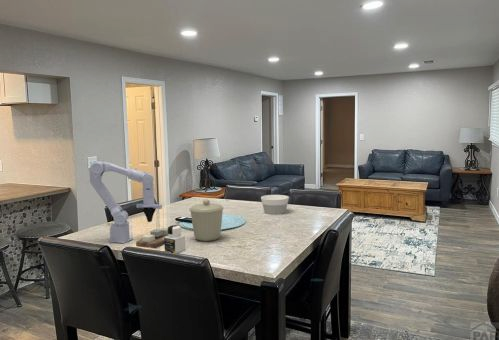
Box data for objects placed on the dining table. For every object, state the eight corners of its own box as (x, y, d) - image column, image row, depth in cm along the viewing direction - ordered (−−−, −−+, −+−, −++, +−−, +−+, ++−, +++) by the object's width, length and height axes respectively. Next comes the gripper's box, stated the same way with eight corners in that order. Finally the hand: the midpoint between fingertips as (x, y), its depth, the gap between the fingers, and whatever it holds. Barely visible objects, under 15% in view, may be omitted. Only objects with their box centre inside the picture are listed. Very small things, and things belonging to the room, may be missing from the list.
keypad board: (136, 245, 195) (136, 241, 195) (162, 234, 215) (162, 230, 215) (156, 248, 190) (155, 243, 190) (180, 236, 211) (180, 232, 210)
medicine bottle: (164, 251, 185) (163, 226, 184) (175, 247, 191) (174, 223, 190) (175, 253, 181) (174, 228, 180) (185, 249, 187) (184, 225, 186)
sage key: (158, 234, 208) (158, 229, 208) (163, 232, 213) (163, 227, 212) (165, 234, 207) (165, 230, 206) (170, 232, 211) (170, 228, 211)
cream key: (141, 241, 196) (141, 236, 195) (147, 238, 200) (147, 234, 200) (149, 242, 194) (149, 237, 194) (154, 239, 198) (154, 235, 198)
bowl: (290, 215, 257) (290, 199, 256) (261, 215, 257) (260, 199, 256) (288, 209, 276) (287, 194, 275) (261, 209, 276) (260, 194, 275)
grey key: (150, 236, 202) (150, 231, 202) (155, 233, 206) (155, 229, 206) (157, 236, 200) (157, 232, 200) (162, 234, 204) (162, 230, 204)
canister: (207, 232, 218) (206, 195, 216) (231, 237, 207) (230, 198, 204) (183, 239, 204) (181, 200, 202) (207, 245, 193) (205, 204, 191)
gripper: (132, 197, 204) (133, 222, 205) (156, 198, 199) (157, 224, 200) (140, 194, 210) (141, 219, 212) (163, 195, 206) (164, 221, 207)
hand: (149, 221), depth 206 cm, fingers closed
